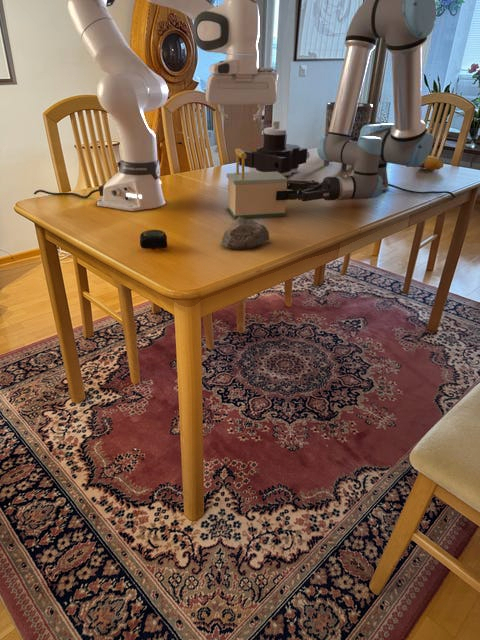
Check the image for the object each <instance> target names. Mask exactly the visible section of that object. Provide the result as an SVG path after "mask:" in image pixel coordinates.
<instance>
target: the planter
mask: <svg viewBox="0 0 480 640" xmlns="http://www.w3.org/2000/svg"><path fill="white" fill-rule="evenodd" d="M334 105H335V101H333V102H327V103H326V109H325V124H324V125H325V126H324V137H328V132H329V128H330V123H331V119H332V114H333V110H334ZM373 107H374V106H373V104H372V103H367V102H359V103H358V107H357V111H356V115H355V119H354V124H353V128H352V132H351V137H350V140H351V141H358V139H359V136H360V132H361V128H362V127H363V126H365V125H370V121H371V116H372V112H373ZM330 163H331V162H330V161H327V160H323V165H325V166H328V165H330ZM347 167H348V165H347V164H343V163H341V166H340V170H341V172H345V171H347Z"/></svg>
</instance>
